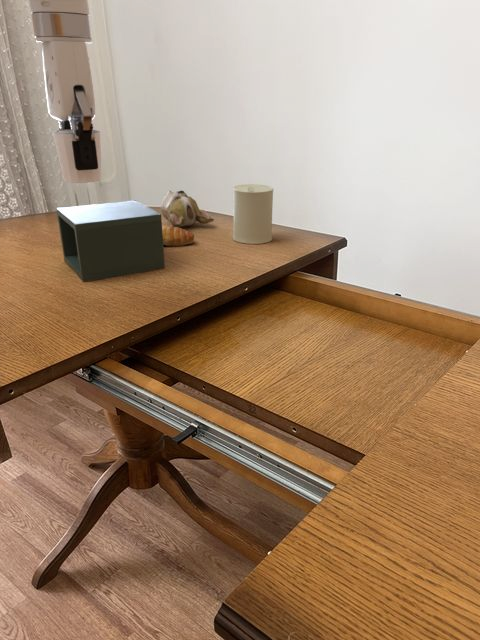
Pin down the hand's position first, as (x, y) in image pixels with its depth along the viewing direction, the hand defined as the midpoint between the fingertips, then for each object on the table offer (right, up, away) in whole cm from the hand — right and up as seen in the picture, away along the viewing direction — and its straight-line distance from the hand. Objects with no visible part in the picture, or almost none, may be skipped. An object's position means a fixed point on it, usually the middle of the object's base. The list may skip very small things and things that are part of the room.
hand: (80, 164), depth 83 cm
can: (+25, -2, +44) cm, 51 cm away
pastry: (+7, -4, +40) cm, 41 cm away
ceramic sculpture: (+8, +3, +54) cm, 55 cm away
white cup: (0, -2, +1) cm, 2 cm away
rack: (-2, -11, +26) cm, 28 cm away
